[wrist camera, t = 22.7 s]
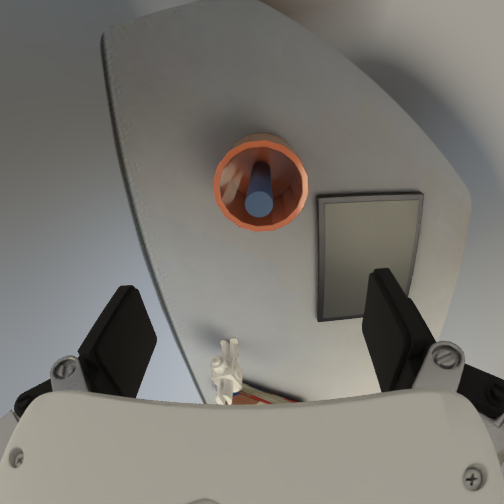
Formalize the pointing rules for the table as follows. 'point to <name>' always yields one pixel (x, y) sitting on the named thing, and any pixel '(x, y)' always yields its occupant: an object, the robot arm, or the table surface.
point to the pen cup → (282, 176)
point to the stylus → (259, 191)
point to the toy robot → (226, 372)
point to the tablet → (363, 247)
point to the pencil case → (256, 397)
